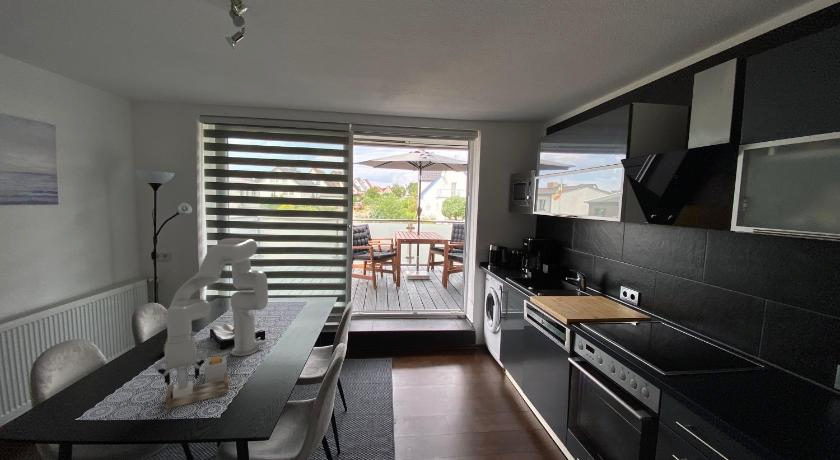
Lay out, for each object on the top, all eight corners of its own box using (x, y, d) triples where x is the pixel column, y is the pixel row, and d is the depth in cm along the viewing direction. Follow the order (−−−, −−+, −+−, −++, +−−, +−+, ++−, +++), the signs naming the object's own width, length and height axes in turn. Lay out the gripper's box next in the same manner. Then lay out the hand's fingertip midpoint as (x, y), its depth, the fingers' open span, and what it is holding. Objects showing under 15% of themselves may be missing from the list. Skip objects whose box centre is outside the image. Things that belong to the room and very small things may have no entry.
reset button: (220, 361, 144) (220, 355, 144) (220, 365, 141) (220, 358, 141) (210, 364, 143) (210, 357, 142) (210, 367, 140) (210, 361, 139)
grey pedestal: (193, 385, 133) (191, 359, 132) (192, 393, 127) (190, 366, 126) (174, 389, 129) (173, 362, 128) (173, 398, 123) (171, 370, 123)
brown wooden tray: (227, 382, 140) (227, 372, 140) (228, 392, 132) (228, 382, 132) (169, 397, 129) (168, 386, 129) (166, 409, 122) (165, 397, 121)
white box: (226, 373, 148) (226, 356, 147) (227, 380, 142) (226, 362, 141) (205, 378, 143) (204, 360, 143) (205, 385, 137) (204, 367, 137)
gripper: (207, 329, 134) (209, 370, 135) (152, 338, 125) (155, 382, 126) (206, 335, 128) (209, 378, 129) (149, 346, 118) (152, 392, 120)
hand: (182, 380), depth 128 cm, fingers open, 8 cm apart
